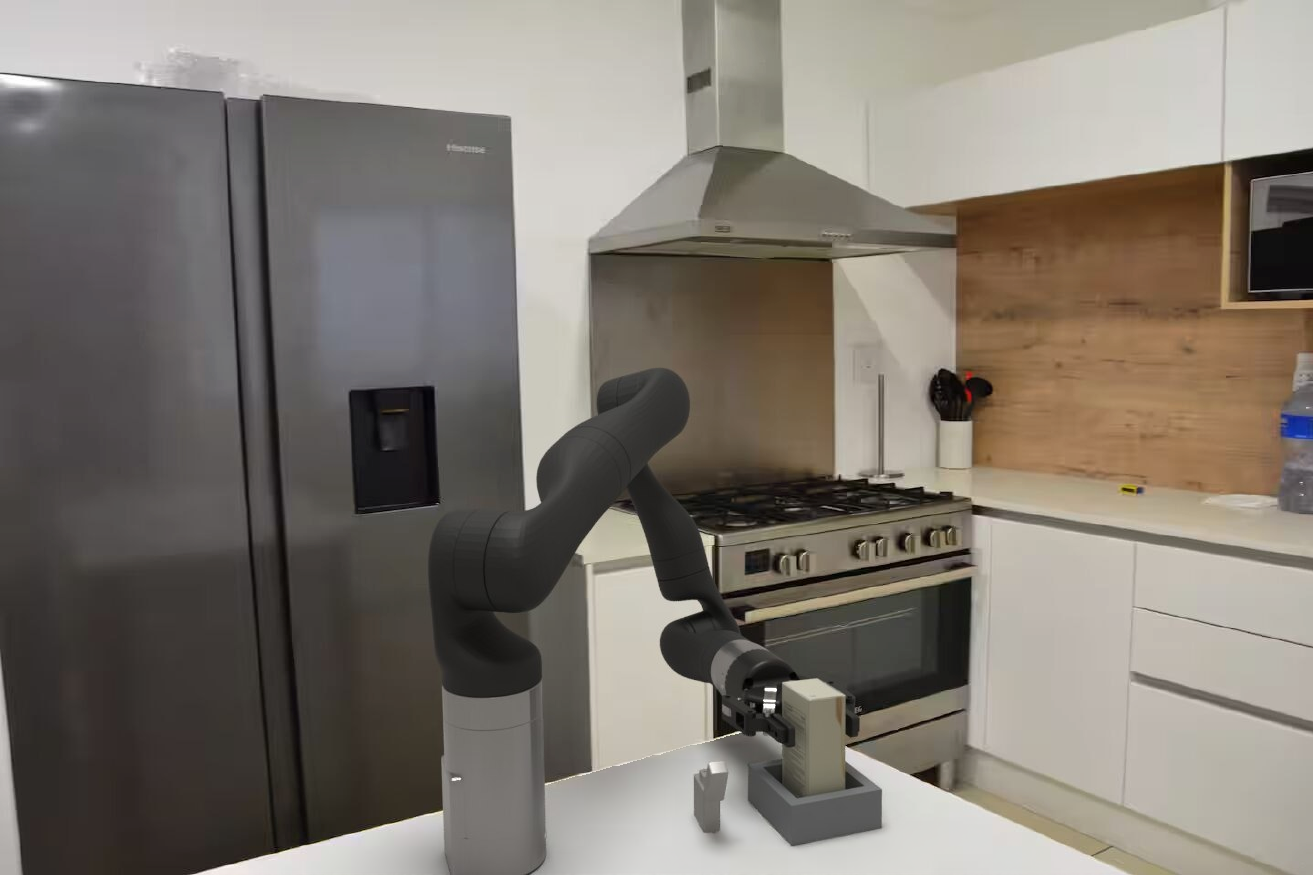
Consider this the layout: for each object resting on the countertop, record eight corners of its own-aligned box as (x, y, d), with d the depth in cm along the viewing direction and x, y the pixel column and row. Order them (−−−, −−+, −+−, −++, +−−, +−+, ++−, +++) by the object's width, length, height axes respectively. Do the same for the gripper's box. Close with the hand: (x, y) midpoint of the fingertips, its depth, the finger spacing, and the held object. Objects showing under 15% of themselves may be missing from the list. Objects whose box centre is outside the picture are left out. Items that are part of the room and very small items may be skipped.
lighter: (693, 813, 102) (692, 738, 101) (709, 811, 102) (709, 737, 101) (711, 847, 95) (711, 767, 94) (729, 845, 95) (728, 765, 94)
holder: (791, 845, 95) (791, 805, 94) (748, 800, 104) (747, 764, 104) (881, 827, 98) (881, 789, 98) (831, 785, 107) (831, 750, 107)
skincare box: (846, 814, 99) (849, 696, 98) (808, 821, 97) (810, 701, 96) (816, 787, 105) (818, 675, 104) (779, 793, 103) (780, 680, 102)
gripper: (695, 655, 111) (758, 705, 95) (809, 641, 116) (887, 687, 100) (695, 719, 112) (758, 780, 96) (809, 703, 116) (886, 758, 101)
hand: (824, 732), depth 98 cm, fingers open, 6 cm apart
